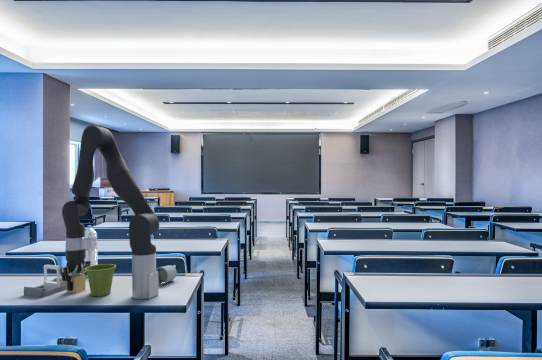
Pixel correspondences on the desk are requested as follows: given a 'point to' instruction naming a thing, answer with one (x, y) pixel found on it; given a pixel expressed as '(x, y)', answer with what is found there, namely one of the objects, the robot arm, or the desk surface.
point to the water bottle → (91, 246)
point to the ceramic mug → (166, 274)
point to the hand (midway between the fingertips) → (76, 288)
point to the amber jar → (77, 283)
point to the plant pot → (100, 278)
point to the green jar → (60, 281)
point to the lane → (42, 291)
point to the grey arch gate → (49, 284)
